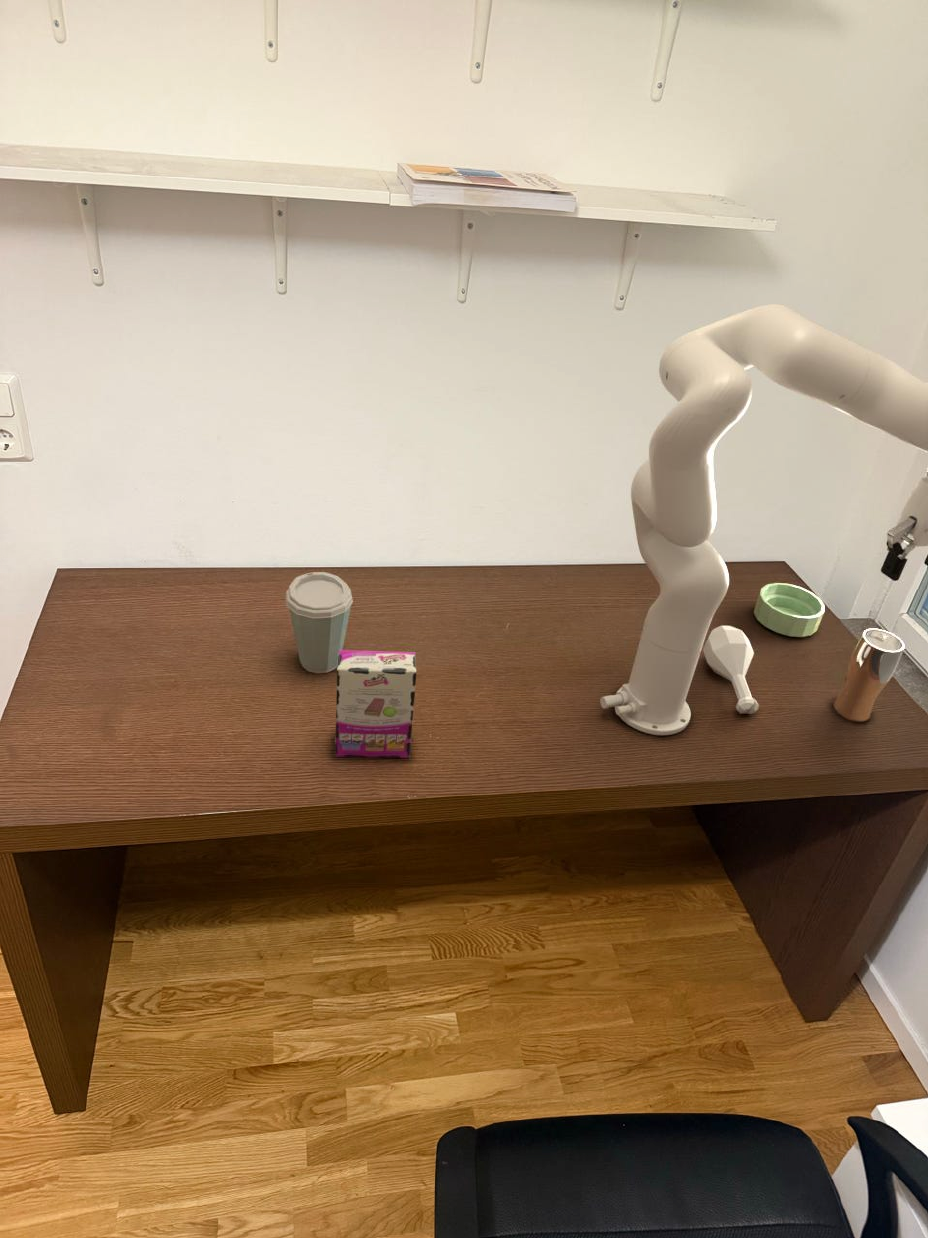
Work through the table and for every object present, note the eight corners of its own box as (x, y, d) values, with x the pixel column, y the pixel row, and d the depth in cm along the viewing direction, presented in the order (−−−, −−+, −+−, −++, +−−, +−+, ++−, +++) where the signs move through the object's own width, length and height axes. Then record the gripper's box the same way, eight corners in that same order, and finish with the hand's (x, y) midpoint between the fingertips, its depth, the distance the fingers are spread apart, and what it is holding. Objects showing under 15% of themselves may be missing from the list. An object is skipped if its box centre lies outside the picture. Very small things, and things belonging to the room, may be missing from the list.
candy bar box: (408, 736, 139) (417, 650, 130) (409, 759, 135) (418, 672, 126) (334, 734, 138) (338, 647, 128) (333, 757, 133) (336, 669, 124)
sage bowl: (780, 643, 172) (788, 622, 169) (740, 608, 181) (747, 587, 178) (829, 634, 176) (838, 612, 174) (788, 600, 185) (795, 579, 183)
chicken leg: (714, 719, 152) (749, 691, 147) (689, 640, 164) (720, 611, 159) (751, 732, 155) (786, 705, 150) (723, 654, 168) (754, 626, 163)
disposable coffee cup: (360, 674, 150) (364, 598, 142) (297, 688, 145) (298, 611, 137) (336, 638, 158) (339, 565, 149) (276, 651, 153) (275, 575, 145)
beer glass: (853, 695, 161) (884, 625, 152) (881, 720, 155) (915, 649, 147) (822, 700, 158) (852, 630, 150) (849, 726, 153) (882, 655, 145)
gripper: (973, 458, 141) (930, 553, 150) (894, 468, 134) (853, 567, 143) (1015, 479, 135) (967, 576, 145) (934, 491, 128) (889, 592, 138)
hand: (911, 572), depth 144 cm, fingers open, 9 cm apart
